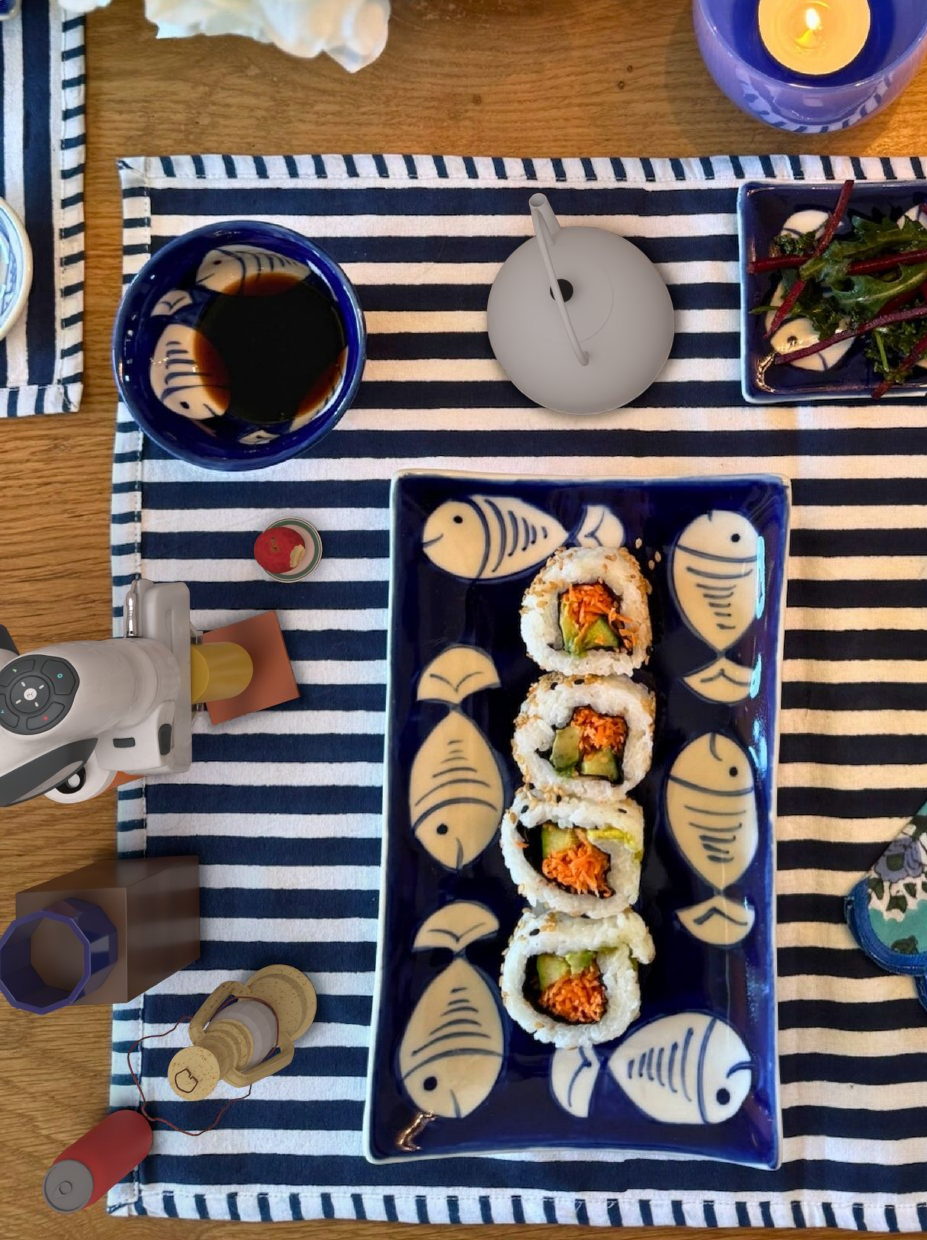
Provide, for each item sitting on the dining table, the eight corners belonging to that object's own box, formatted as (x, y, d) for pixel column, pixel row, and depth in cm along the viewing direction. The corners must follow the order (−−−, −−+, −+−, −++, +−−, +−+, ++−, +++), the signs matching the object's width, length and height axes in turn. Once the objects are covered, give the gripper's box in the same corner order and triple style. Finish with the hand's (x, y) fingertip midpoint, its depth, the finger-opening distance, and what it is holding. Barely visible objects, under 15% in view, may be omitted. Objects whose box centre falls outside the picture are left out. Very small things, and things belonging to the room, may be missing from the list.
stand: (101, 963, 139) (15, 1009, 123) (100, 860, 140) (14, 893, 124) (200, 957, 139) (127, 1003, 123) (199, 854, 140) (126, 886, 124)
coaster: (214, 725, 141) (211, 725, 141) (189, 638, 142) (187, 638, 142) (300, 696, 141) (298, 697, 141) (275, 610, 142) (273, 610, 142)
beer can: (89, 1129, 137) (25, 1179, 125) (136, 1095, 137) (76, 1142, 126) (118, 1177, 137) (57, 1232, 125) (165, 1143, 137) (108, 1195, 125)
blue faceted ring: (24, 1001, 123) (-7, 1018, 118) (24, 900, 124) (-7, 912, 119) (118, 996, 123) (90, 1012, 118) (117, 894, 124) (90, 907, 119)
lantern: (212, 996, 138) (60, 1104, 108) (274, 938, 139) (140, 1029, 109) (278, 1073, 137) (143, 1203, 108) (340, 1014, 138) (223, 1128, 108)
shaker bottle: (164, 793, 141) (65, 824, 121) (103, 754, 141) (-5, 778, 121) (205, 730, 141) (113, 750, 121) (145, 691, 142) (44, 705, 122)
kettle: (466, 250, 146) (412, 185, 124) (638, 196, 146) (615, 122, 124) (522, 438, 144) (477, 407, 121) (697, 383, 144) (685, 342, 121)
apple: (313, 509, 143) (292, 504, 137) (331, 571, 143) (310, 569, 136) (251, 529, 143) (227, 525, 137) (268, 591, 143) (245, 590, 136)
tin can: (197, 700, 136) (148, 708, 125) (197, 643, 137) (147, 646, 126) (253, 696, 136) (209, 704, 125) (252, 640, 137) (208, 643, 126)
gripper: (97, 579, 117) (168, 582, 131) (99, 786, 115) (170, 767, 129) (159, 576, 117) (223, 579, 131) (162, 782, 115) (226, 763, 129)
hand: (197, 673), depth 130 cm, fingers closed on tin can, 6 cm apart
